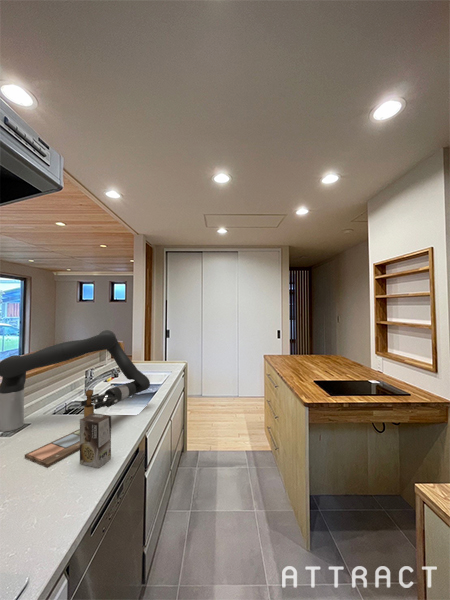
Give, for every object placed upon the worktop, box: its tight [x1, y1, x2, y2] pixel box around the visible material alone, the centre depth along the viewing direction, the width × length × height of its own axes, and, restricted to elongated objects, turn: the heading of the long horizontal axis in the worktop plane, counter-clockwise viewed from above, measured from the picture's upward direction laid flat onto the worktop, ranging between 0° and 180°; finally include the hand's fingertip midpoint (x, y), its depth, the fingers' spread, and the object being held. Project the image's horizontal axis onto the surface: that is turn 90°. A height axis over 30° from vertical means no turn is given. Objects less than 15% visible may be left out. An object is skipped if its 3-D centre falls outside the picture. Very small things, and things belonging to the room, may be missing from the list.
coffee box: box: [79, 412, 112, 469], centre depth 98 cm, size 9×6×16 cm
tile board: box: [24, 428, 80, 468], centre depth 109 cm, size 14×27×2 cm, turn 155°
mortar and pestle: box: [83, 389, 95, 418], centre depth 118 cm, size 7×6×18 cm
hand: (88, 405), depth 118 cm, fingers open, 8 cm apart
